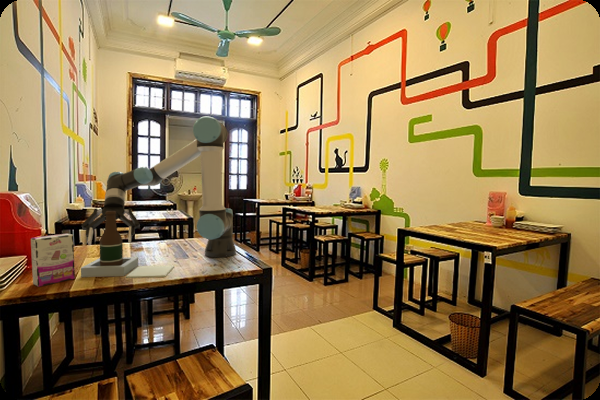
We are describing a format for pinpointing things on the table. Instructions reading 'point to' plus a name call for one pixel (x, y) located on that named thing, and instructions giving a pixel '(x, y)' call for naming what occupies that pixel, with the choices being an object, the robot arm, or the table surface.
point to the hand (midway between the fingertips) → (109, 242)
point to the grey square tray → (109, 268)
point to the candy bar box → (52, 259)
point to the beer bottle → (111, 243)
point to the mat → (150, 271)
